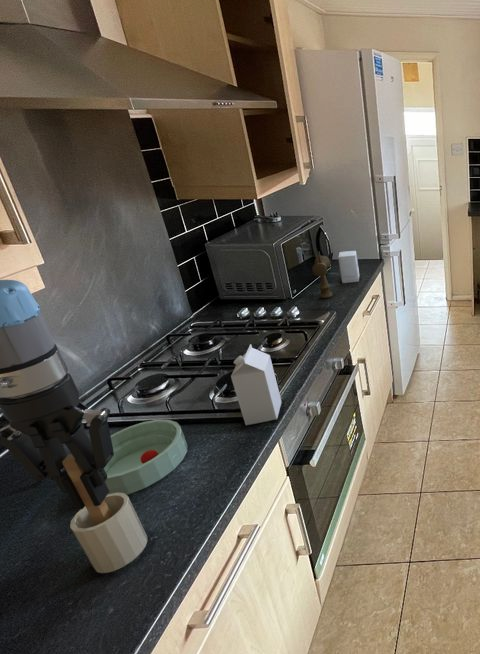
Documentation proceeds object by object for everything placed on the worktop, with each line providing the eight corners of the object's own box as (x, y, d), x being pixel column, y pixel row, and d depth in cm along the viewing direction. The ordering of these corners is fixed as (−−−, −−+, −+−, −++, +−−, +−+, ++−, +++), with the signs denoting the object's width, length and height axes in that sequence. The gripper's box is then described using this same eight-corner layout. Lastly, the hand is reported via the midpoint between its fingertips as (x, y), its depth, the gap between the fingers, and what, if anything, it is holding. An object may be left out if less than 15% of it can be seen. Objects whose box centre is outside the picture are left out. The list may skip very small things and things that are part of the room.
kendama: (335, 291, 178) (328, 246, 170) (333, 300, 169) (325, 254, 162) (320, 292, 176) (312, 248, 169) (317, 302, 168) (308, 255, 160)
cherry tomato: (140, 469, 90) (135, 459, 89) (146, 458, 93) (142, 448, 92) (156, 466, 91) (152, 455, 90) (162, 455, 94) (158, 445, 93)
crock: (85, 581, 70) (59, 537, 66) (109, 541, 76) (86, 498, 72) (137, 568, 72) (114, 524, 68) (156, 530, 78) (136, 488, 74)
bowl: (71, 510, 82) (59, 488, 80) (116, 448, 97) (107, 428, 95) (170, 488, 87) (161, 467, 85) (199, 432, 102) (192, 413, 99)
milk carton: (281, 402, 112) (266, 341, 105) (277, 420, 106) (260, 356, 99) (252, 407, 110) (234, 346, 103) (245, 426, 104) (226, 362, 96)
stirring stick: (111, 556, 73) (61, 462, 64) (116, 547, 74) (68, 454, 66) (123, 553, 73) (74, 459, 65) (127, 545, 75) (80, 452, 66)
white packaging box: (359, 281, 187) (355, 255, 182) (341, 283, 185) (337, 257, 181) (360, 275, 194) (356, 250, 189) (343, 277, 192) (339, 251, 187)
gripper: (-58, 411, 55) (20, 533, 64) (80, 390, 59) (135, 508, 68) (-12, 378, 61) (53, 493, 70) (109, 361, 66) (156, 472, 74)
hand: (93, 500), depth 69 cm, fingers closed on stirring stick, 2 cm apart
